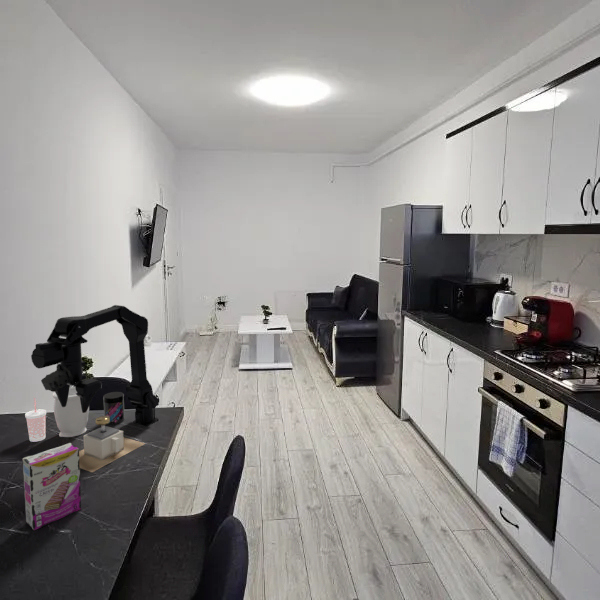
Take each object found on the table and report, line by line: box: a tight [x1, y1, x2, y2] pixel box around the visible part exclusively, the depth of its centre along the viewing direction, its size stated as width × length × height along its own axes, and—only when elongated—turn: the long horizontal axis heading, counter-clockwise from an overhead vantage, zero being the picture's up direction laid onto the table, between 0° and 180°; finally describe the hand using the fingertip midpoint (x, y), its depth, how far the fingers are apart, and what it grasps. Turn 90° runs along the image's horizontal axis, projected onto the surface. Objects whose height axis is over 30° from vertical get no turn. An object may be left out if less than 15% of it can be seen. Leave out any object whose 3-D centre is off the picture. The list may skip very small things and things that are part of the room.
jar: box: [52, 386, 90, 438], centre depth 152 cm, size 11×10×15 cm
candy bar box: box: [22, 442, 82, 531], centre depth 108 cm, size 11×5×16 cm, turn 141°
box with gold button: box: [82, 425, 124, 460], centre depth 138 cm, size 8×10×7 cm
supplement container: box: [102, 391, 125, 425], centre depth 162 cm, size 7×7×10 cm
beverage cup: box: [24, 397, 47, 443], centre depth 148 cm, size 6×6×14 cm
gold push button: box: [95, 415, 110, 433], centre depth 138 cm, size 5×5×7 cm
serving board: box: [79, 436, 146, 473], centre depth 139 cm, size 20×14×1 cm
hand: (74, 409), depth 137 cm, fingers open, 9 cm apart
